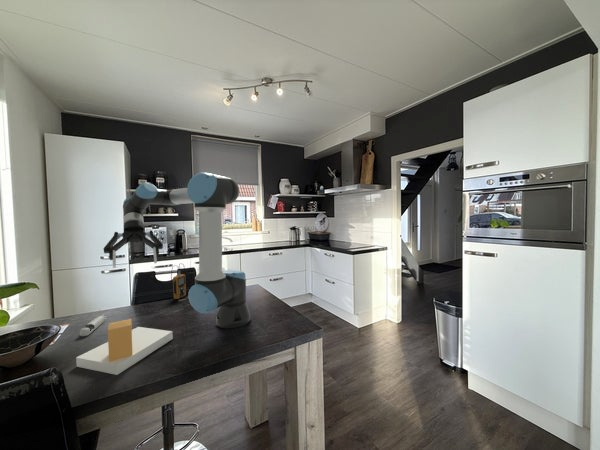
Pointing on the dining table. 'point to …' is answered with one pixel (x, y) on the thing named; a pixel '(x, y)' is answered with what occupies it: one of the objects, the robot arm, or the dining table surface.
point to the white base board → (141, 345)
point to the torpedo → (92, 325)
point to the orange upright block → (120, 339)
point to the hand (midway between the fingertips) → (135, 263)
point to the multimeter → (179, 285)
